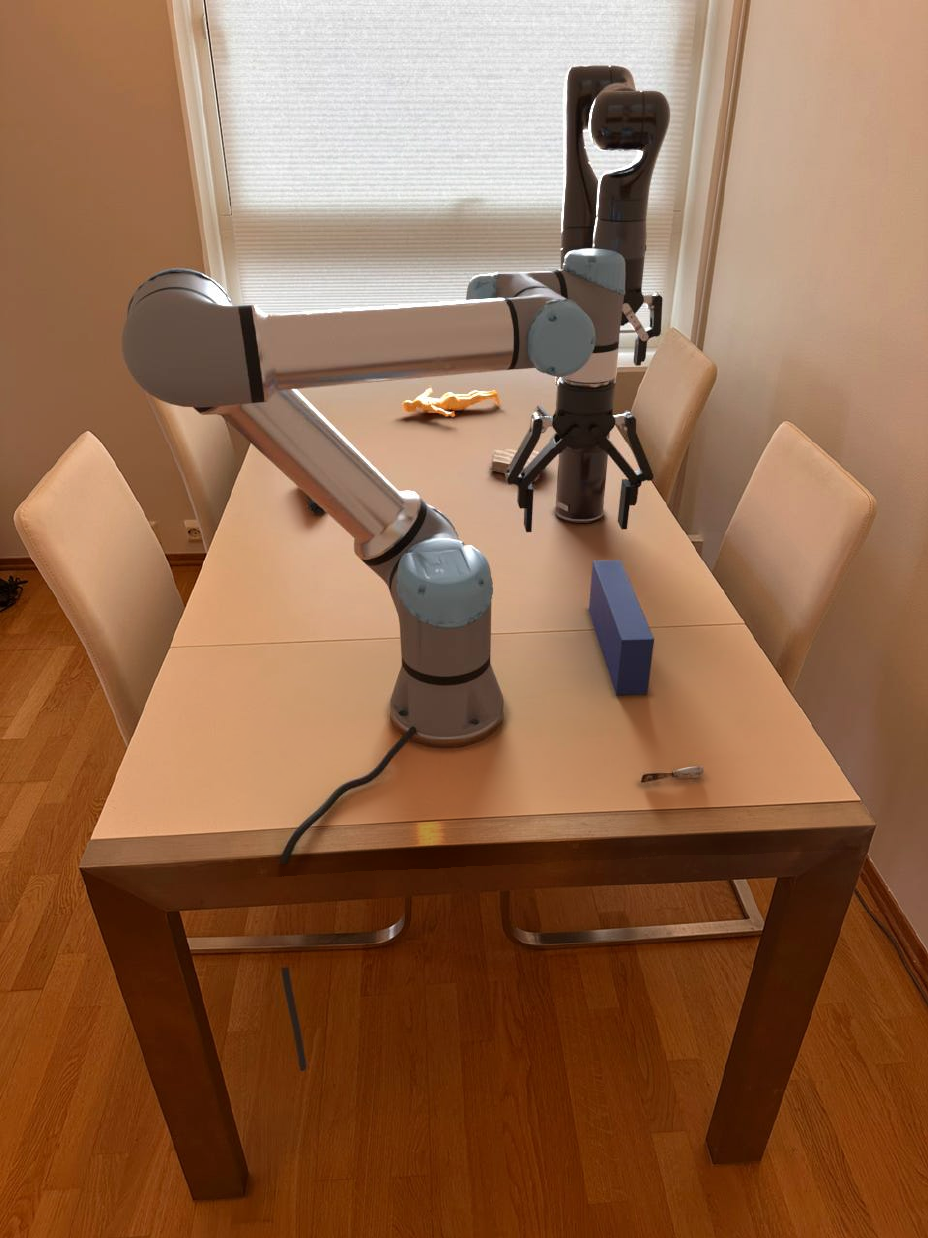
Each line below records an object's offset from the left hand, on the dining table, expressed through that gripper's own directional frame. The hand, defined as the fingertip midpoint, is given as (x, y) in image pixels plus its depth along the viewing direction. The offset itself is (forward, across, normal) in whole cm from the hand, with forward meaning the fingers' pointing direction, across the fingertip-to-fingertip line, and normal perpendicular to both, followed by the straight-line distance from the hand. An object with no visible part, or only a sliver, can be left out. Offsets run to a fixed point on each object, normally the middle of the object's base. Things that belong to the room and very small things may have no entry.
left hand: (575, 526), depth 127 cm
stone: (+19, -1, -66) cm, 68 cm away
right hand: (-17, -8, -21) cm, 28 cm away
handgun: (+19, +38, -56) cm, 71 cm away
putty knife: (+19, -7, +33) cm, 39 cm away
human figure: (+19, +11, -106) cm, 108 cm away
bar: (+19, -7, +4) cm, 20 cm away
